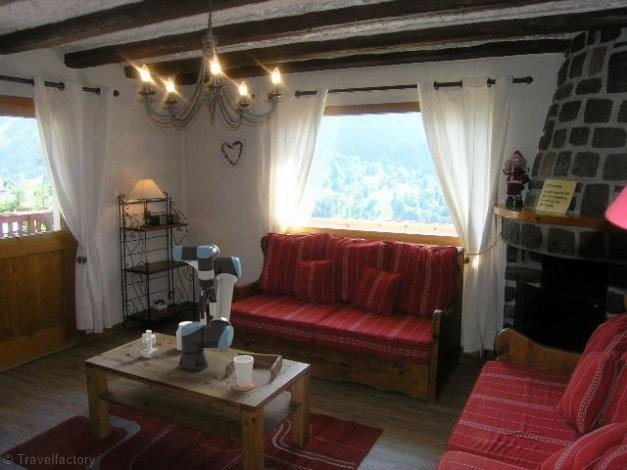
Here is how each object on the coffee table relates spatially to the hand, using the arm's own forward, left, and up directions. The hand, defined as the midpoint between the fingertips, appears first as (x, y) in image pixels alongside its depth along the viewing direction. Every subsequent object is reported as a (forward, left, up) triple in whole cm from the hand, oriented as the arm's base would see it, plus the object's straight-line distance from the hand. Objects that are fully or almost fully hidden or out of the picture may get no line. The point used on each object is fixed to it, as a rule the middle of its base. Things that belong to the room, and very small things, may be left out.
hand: (208, 320), depth 247 cm
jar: (-41, -31, -32) cm, 60 cm away
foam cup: (+2, +18, -31) cm, 36 cm away
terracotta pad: (+2, +18, -31) cm, 36 cm away
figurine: (-25, -46, -32) cm, 61 cm away
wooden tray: (-16, +18, -31) cm, 40 cm away
